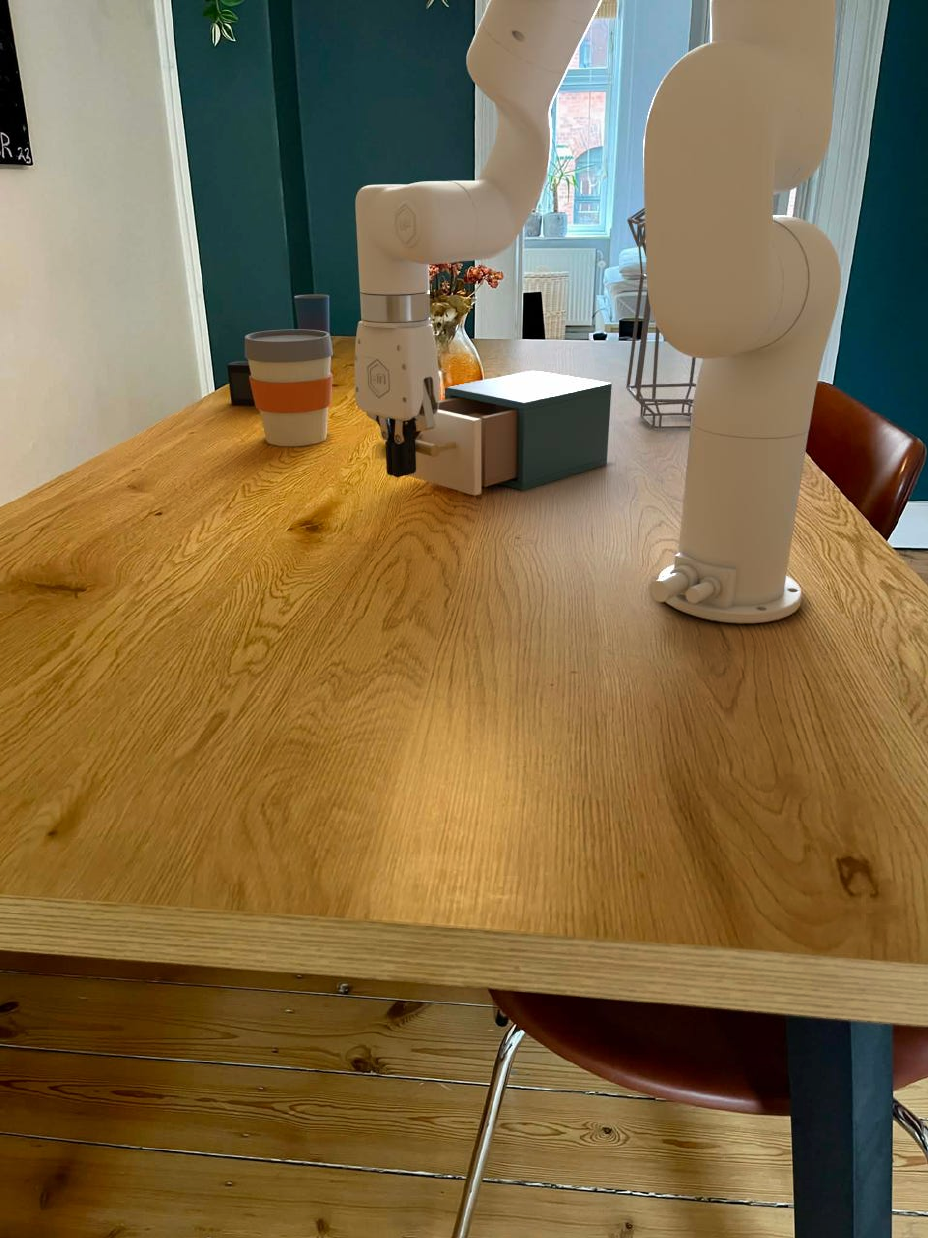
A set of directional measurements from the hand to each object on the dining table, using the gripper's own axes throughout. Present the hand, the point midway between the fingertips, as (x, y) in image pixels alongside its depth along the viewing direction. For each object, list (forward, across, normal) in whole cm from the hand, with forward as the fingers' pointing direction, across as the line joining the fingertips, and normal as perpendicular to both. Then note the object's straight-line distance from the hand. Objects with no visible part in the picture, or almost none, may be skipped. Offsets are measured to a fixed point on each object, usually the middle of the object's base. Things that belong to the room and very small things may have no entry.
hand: (401, 473), depth 107 cm
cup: (+4, -77, +43) cm, 88 cm away
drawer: (+3, 0, +11) cm, 12 cm away
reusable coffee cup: (+4, -35, +9) cm, 36 cm away
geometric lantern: (+4, -1, +57) cm, 57 cm away
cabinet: (+4, 0, +22) cm, 22 cm away
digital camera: (+4, -60, +19) cm, 63 cm away
